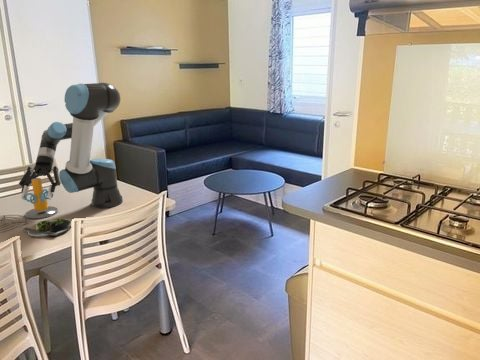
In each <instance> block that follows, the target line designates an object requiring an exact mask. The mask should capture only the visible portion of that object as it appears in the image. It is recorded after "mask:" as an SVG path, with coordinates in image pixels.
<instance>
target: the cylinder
mask: <svg viewBox="0 0 480 360" xmlns="http://www.w3.org/2000/svg"><path fill="white" fill-rule="evenodd" d="M31 181H32V183H31V184H32V191H33V193H32V192H28V193H27V194H26V195H25V200H24V201H26V202H29V203H30V204H31V205H33V209H35V211H43V210H46V209H48V206H49V204H48V200H49V199H48V198H47V195H48V189H46V188H43V182H42V178H40V177H37V178H34V179H32V180H31ZM29 195H30V197H29V199H28V196H29ZM53 197H54V192H53V193H52V197H51V199H52V198H53Z"/></svg>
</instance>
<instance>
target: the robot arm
mask: <svg viewBox="0 0 480 360" xmlns="http://www.w3.org/2000/svg"><path fill="white" fill-rule="evenodd" d="M65 90H66V91H65V93H64V103H65V109H66V110H67V112H68V113H69V114H70V116H71V117H72V122H69V123H63V122H60V121H53V122H52V123H51V124H50V125H49V126H48V128H47V129H46V130H44V131H43V133H42V135H41V139H40V144H39V148H38V150H37V151H38V152H37V155H36V160H35V165H34V167H31V166H28V167H27V169H26V172H25V173H24V175H22V178H21V179H20V180H19V182H18V185H20V186H21V191H20V192H21V199H22V200H23V201H26V200H25V195H26V194H28V193H29V186H30V185H31V184H32V181H31V180H32V179H34V178H39V177H45V176H47V178H48V180H49V183H50V184H49V185H48V189H47V191H48V195H47V198H48V199H47V200H50V201H51V200H52V198H53V197H52V193H53V194H54V193H55V190H56V187H57V186H61V184H62V187H63V188H64V190H65V191H67V192H68V193H69V194H74V193H79V192H81V191H85V190H89V189H92V188H93V191H92V198H91V206H92V207H94V208H99V209H107V208H108V209H109V208H113V207H117V206H119V205H121V204H122V203H123V202H124V199H123V195H121V192H120V190H119V187H118V179H117V170H116V169H117V168H116V164H115V161H114V160H113V159H109V158H92V159H91V151H92V143H93V137H94V136H93V135H94V128H95V126H96V125H97V124H98V123H100V122H101V120H103V119H104V117H106V116H107V115H108V114H111V113H113V112H115V111H116V110H117V109H118V107H120V104H121V94H120V92H119V90H118V89H117V88H116V86H114V85H113V84H111V83H107V82H97V83H96V82H95V83H78V84H72V85H70V86H69V87H68V88H66V89H65ZM69 139H71V140H70V153H69V160H67V162H66V163H65V168H64V169H61V170H60V171H59V168H58V167H57V166H56V165H55V166H54V167H53V164H54V160H55V155H56V150H57V146H58V144H59V143H60V142H61V141H65V140H69ZM51 172H53V176H54V179H53V177H52V176H51V175H52V174H50V173H51ZM51 197H52V198H51Z"/></svg>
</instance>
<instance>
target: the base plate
mask: <svg viewBox="0 0 480 360" xmlns="http://www.w3.org/2000/svg"><path fill="white" fill-rule="evenodd" d="M58 212H59V211H58V207H55V206H51V205H50V206H49V205H48V209H46V210H43V211H35V209H34V208H32V209H30V210H28V211H26V212H25V214H24V215H25V218H26V219H28V220H40V219H47V218H49V217H50V218H51V217H52V216H55V215H57V213H58Z"/></svg>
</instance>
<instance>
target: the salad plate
mask: <svg viewBox="0 0 480 360" xmlns="http://www.w3.org/2000/svg"><path fill="white" fill-rule="evenodd" d="M71 220H72V219H70V218H58V219H46V220H41V221H39V222H37V223H34V225H33V227H32V228H28V227H24V228H22V231H25V232H27V234H28V235H29V236H31V237H34V238H44V237H45V238H46V237H48V238H49V237H50V238H52V237H58V236H61V235H64V234H66V233H67V232H69V231H70V230H71V229H72V227H71Z"/></svg>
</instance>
